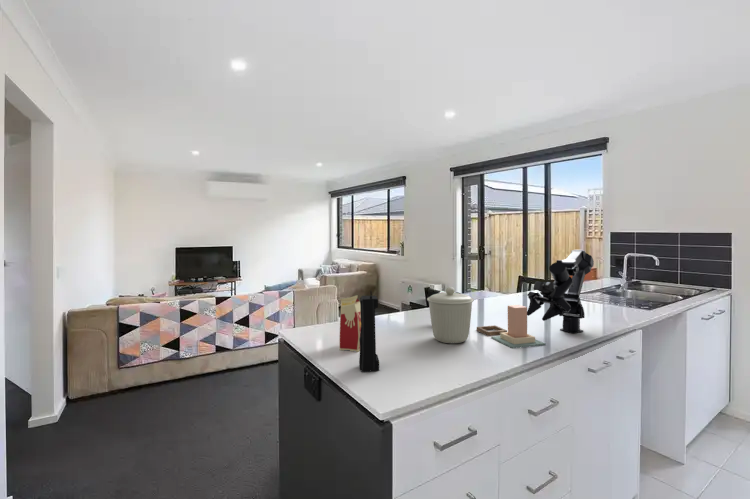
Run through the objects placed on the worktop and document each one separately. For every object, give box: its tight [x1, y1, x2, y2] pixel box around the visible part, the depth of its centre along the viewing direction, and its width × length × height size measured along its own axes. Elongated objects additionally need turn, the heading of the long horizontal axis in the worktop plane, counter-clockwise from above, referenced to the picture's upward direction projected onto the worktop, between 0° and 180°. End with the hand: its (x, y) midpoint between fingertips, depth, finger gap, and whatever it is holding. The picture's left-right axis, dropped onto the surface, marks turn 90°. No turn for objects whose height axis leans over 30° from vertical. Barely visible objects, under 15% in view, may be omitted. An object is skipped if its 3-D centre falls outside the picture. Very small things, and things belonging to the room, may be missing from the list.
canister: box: [426, 286, 475, 344], centre depth 143 cm, size 18×18×21 cm
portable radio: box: [358, 291, 380, 373], centre depth 115 cm, size 8×6×25 cm
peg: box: [507, 304, 528, 338], centre depth 140 cm, size 5×5×13 cm
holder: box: [476, 324, 508, 337], centre depth 154 cm, size 9×9×2 cm
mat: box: [490, 331, 546, 349], centre depth 140 cm, size 14×14×3 cm
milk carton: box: [339, 294, 361, 353], centre depth 136 cm, size 9×9×20 cm
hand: (534, 317), depth 141 cm, fingers open, 9 cm apart
